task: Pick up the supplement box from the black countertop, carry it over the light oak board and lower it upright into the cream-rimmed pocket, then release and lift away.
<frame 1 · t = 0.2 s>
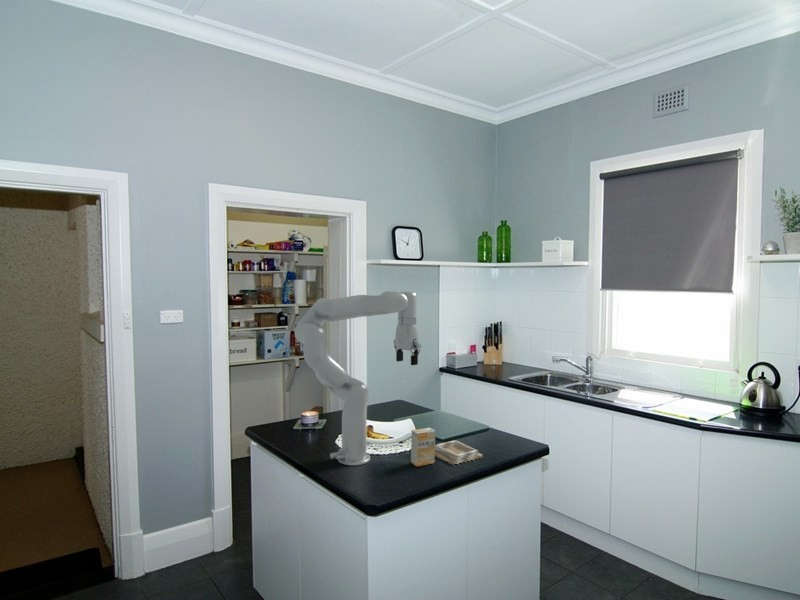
hand: (406, 362, 206), 36 cm above the countertop, tool pointing down, fingers open, 9 cm apart
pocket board: (456, 455, 201), on the countertop
supplement box: (422, 463, 193), on the countertop
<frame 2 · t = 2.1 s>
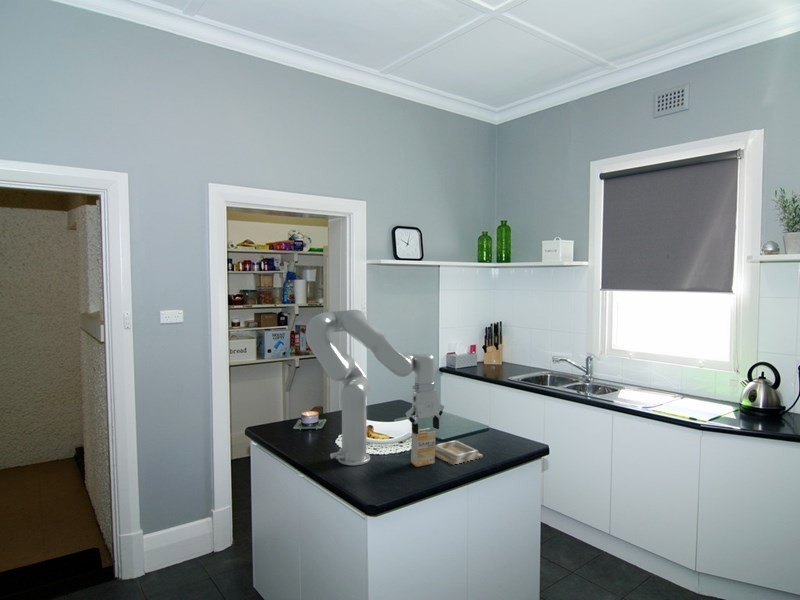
hand: (425, 430, 192), 13 cm above the countertop, tool pointing down, fingers open, 9 cm apart
supplement box: (422, 463, 193), on the countertop, touching gripper
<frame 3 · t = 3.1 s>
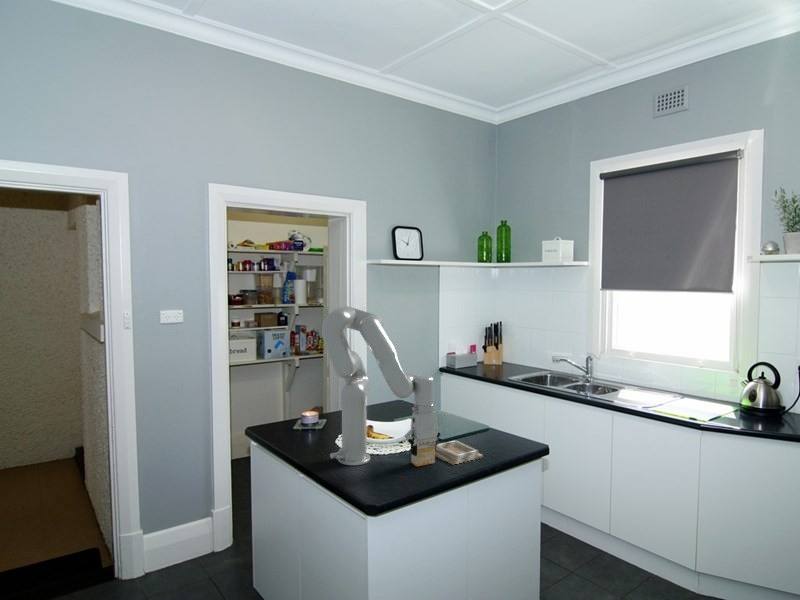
hand: (423, 452, 192), 4 cm above the countertop, tool pointing down, fingers closed on supplement box, 8 cm apart
supplement box: (423, 463, 193), on the countertop, touching gripper
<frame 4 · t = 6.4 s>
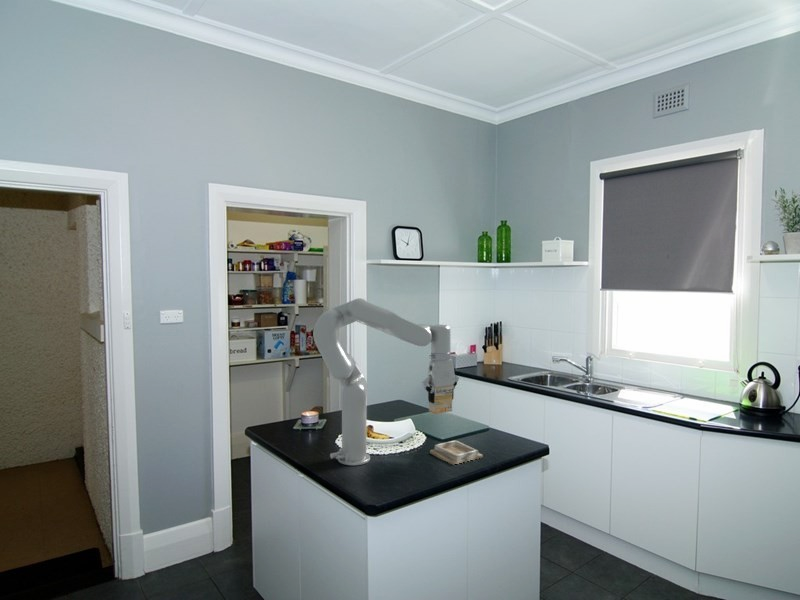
hand: (441, 400, 195), 24 cm above the countertop, tool pointing down, fingers closed on supplement box, 8 cm apart
supplement box: (440, 411, 196), point 19 cm above the countertop, touching gripper
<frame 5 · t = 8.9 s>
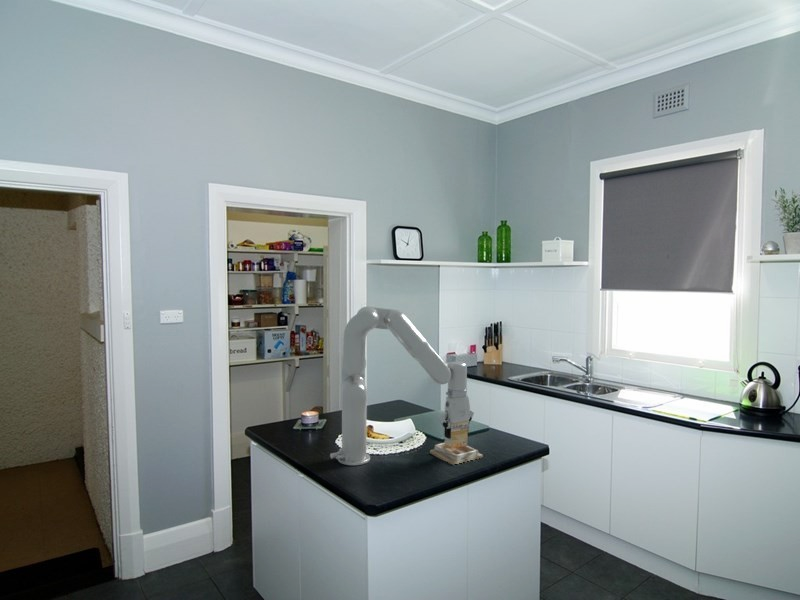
hand: (456, 435, 200), 8 cm above the countertop, tool pointing down, fingers closed on supplement box, 8 cm apart
supplement box: (456, 446, 201), point 4 cm above the countertop, touching gripper
when the fingers open (7 cm above the countertop, at t = 9.9 s): supplement box moves 1 cm, resting on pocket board.
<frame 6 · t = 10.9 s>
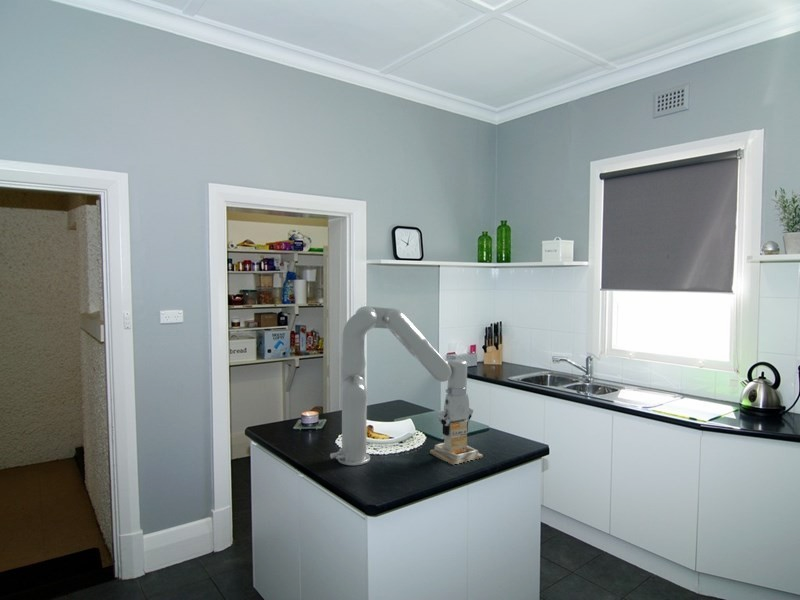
hand: (455, 432, 200), 9 cm above the countertop, tool pointing down, fingers open, 9 cm apart
supplement box: (455, 452, 201), point 1 cm above the countertop, touching gripper, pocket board
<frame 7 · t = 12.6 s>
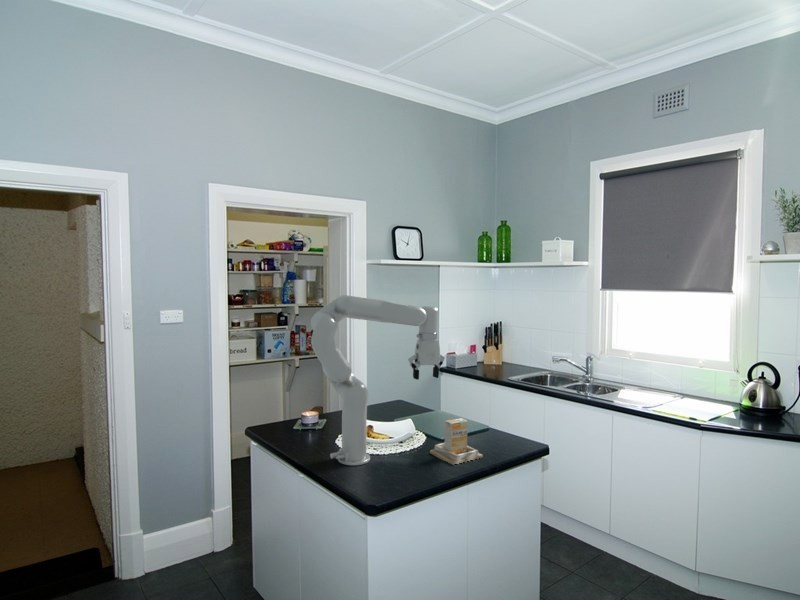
hand: (425, 378, 205), 30 cm above the countertop, tool pointing down, fingers open, 9 cm apart
supplement box: (455, 452, 201), point 1 cm above the countertop, touching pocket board
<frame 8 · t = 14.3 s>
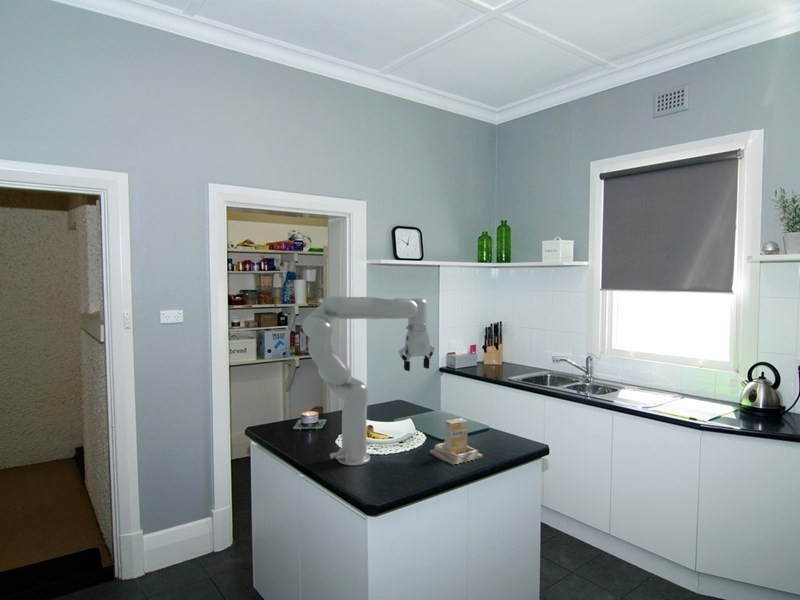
hand: (416, 369, 207), 33 cm above the countertop, tool pointing down, fingers open, 9 cm apart
nothing on the countertop moved.
at the end: supplement box 0.4 cm off-centre on the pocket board, point 1.0 cm above the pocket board's base; supplement box tilted 0°; the gripper is holding nothing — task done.
